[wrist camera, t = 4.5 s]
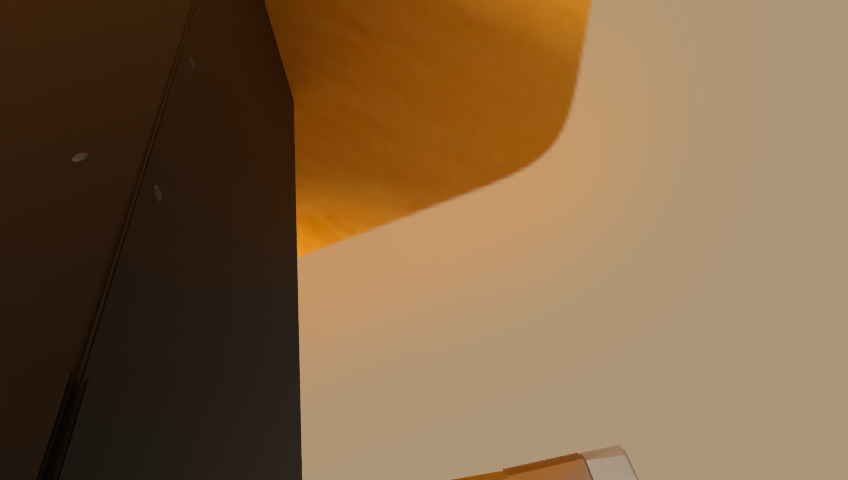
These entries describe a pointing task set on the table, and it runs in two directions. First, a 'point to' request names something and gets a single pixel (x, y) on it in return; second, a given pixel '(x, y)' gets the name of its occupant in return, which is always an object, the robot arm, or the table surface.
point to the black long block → (147, 243)
